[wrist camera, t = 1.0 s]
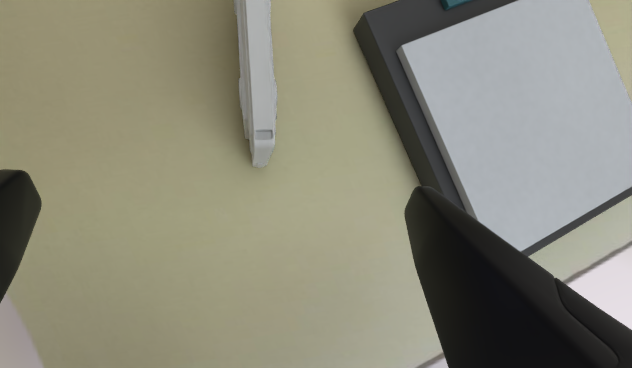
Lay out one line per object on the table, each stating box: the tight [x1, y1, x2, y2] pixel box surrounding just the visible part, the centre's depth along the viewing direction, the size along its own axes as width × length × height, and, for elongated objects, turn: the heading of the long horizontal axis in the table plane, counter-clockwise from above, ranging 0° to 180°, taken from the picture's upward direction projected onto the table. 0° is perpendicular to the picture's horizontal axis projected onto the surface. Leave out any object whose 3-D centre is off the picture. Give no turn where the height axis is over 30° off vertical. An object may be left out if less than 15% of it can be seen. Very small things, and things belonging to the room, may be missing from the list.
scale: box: [354, 0, 632, 257], centre depth 24 cm, size 19×17×3 cm
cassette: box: [234, 0, 277, 168], centre depth 18 cm, size 12×2×8 cm, turn 4°
